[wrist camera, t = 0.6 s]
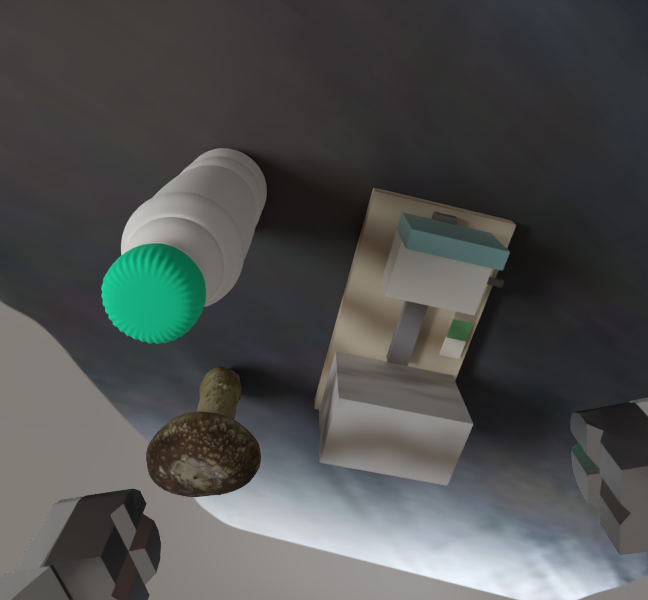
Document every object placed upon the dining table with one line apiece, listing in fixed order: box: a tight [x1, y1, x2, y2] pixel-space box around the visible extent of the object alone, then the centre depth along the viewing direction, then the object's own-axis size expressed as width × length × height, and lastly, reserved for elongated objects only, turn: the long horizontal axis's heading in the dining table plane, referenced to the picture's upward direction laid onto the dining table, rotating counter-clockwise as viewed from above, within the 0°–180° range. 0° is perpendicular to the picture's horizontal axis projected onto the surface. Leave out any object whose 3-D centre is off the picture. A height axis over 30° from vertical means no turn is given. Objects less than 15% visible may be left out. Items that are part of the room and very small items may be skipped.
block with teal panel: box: [381, 212, 510, 315], centre depth 46 cm, size 7×10×5 cm, turn 76°
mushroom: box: [146, 367, 261, 497], centre depth 49 cm, size 9×9×15 cm
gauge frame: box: [314, 188, 516, 485], centre depth 49 cm, size 23×13×10 cm, turn 166°
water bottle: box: [101, 148, 267, 344], centre depth 37 cm, size 7×7×25 cm
